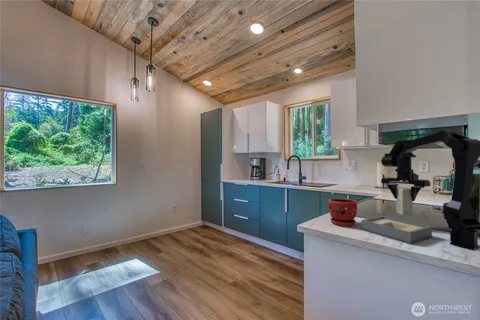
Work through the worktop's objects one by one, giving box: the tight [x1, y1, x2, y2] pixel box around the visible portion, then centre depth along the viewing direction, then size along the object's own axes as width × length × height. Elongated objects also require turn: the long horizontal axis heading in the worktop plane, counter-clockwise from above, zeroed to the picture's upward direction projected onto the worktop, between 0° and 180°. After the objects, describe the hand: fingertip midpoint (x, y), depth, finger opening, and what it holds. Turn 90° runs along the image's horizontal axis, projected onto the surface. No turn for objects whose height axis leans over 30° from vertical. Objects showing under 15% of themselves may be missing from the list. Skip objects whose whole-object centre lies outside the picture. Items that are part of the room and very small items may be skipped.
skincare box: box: [396, 187, 414, 216], centre depth 108 cm, size 6×4×12 cm
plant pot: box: [327, 198, 358, 227], centre depth 114 cm, size 13×13×12 cm
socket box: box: [361, 215, 433, 245], centre depth 99 cm, size 20×16×4 cm
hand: (404, 199), depth 108 cm, fingers closed on skincare box, 7 cm apart
